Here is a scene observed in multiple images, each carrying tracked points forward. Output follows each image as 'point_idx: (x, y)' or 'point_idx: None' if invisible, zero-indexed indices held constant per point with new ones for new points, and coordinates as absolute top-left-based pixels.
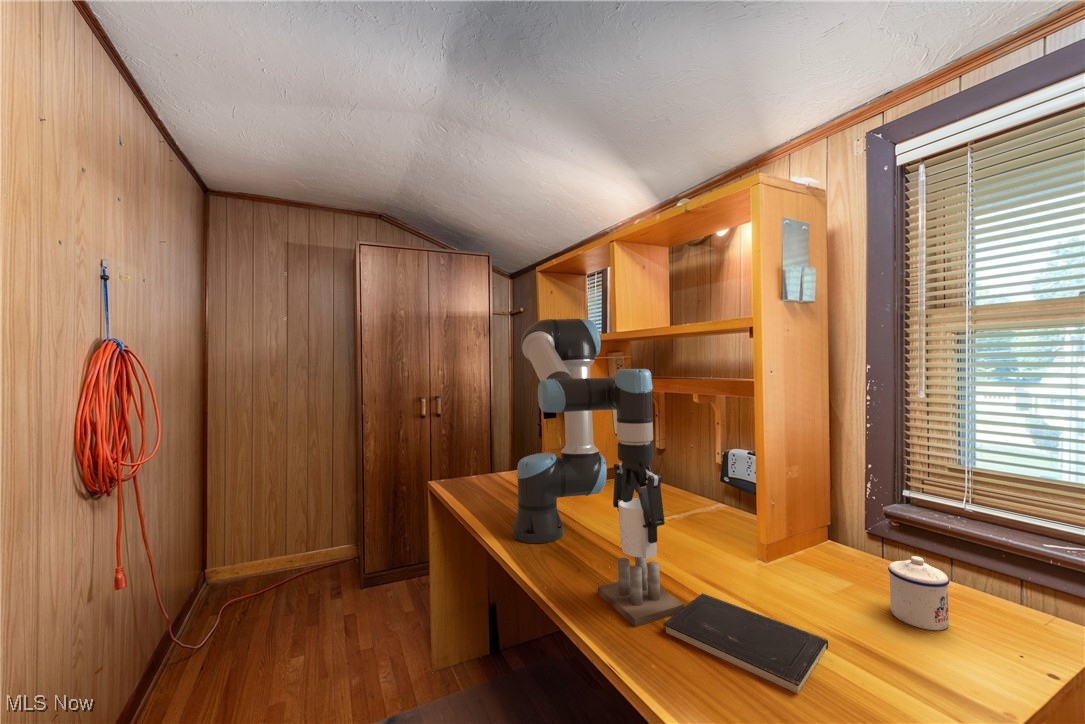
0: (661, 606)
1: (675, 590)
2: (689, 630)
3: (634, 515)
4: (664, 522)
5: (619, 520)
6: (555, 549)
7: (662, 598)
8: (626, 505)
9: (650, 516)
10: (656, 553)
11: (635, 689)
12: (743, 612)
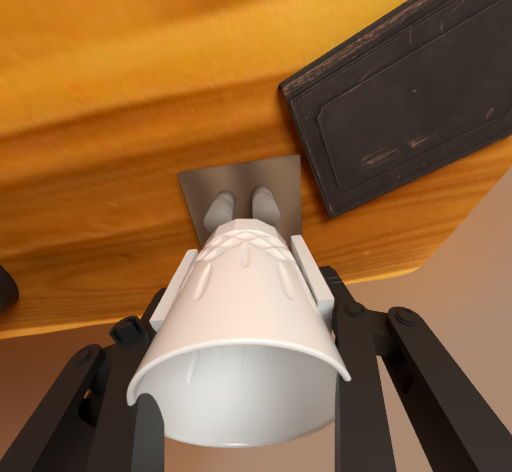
0: (289, 197)
1: (226, 124)
2: (363, 193)
3: (312, 395)
4: (420, 317)
5: (230, 365)
6: (38, 266)
7: (269, 182)
8: (162, 380)
9: (396, 385)
10: (302, 238)
11: (381, 278)
12: (383, 46)
